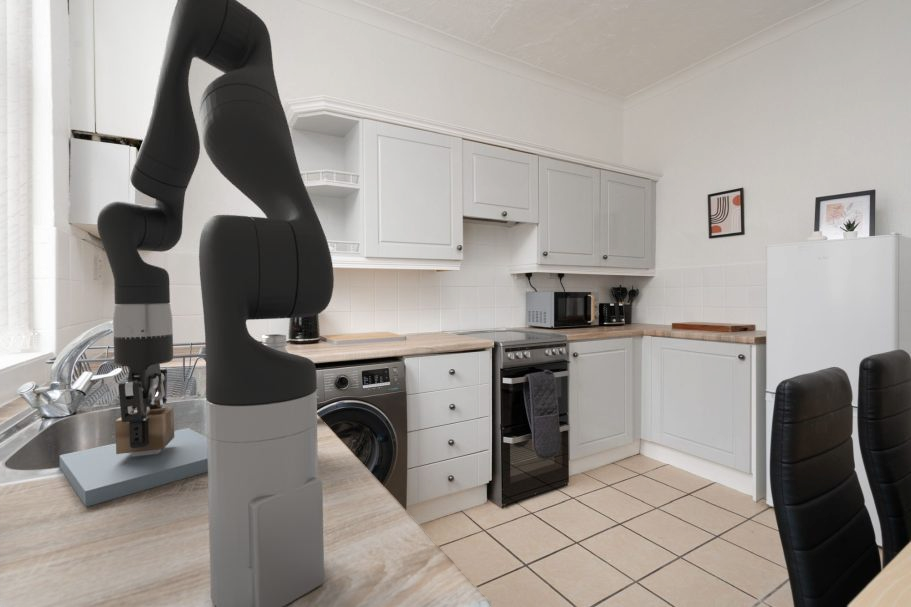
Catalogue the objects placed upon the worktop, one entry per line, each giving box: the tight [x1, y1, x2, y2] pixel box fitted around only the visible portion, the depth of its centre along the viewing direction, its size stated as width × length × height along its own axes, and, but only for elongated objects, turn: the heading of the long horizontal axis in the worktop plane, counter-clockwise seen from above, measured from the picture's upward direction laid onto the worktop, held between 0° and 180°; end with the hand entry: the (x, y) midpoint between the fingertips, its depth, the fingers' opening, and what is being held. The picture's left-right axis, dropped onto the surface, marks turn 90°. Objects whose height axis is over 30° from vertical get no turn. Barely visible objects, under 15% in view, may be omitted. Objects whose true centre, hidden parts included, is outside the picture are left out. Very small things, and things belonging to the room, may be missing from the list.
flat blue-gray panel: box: [59, 427, 208, 508], centre depth 68 cm, size 20×18×6 cm
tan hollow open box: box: [114, 406, 175, 454], centre depth 68 cm, size 6×6×5 cm
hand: (146, 439), depth 68 cm, fingers closed on tan hollow open box, 5 cm apart
